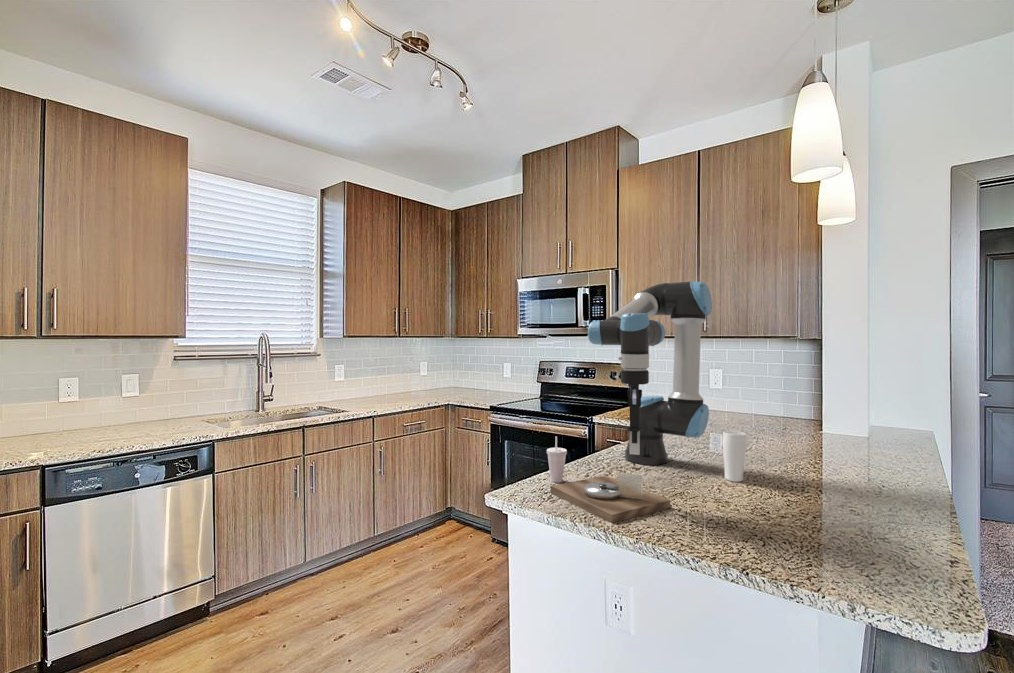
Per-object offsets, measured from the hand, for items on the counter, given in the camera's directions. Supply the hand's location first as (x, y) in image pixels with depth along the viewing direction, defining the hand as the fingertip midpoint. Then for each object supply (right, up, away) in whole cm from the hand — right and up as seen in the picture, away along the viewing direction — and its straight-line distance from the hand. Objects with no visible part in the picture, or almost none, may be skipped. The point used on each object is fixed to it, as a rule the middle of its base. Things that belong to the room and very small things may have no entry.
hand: (634, 453), depth 133 cm
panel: (-7, -13, 0) cm, 15 cm away
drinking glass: (+37, -13, +20) cm, 44 cm away
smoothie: (-20, -13, +17) cm, 29 cm away
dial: (-7, -11, -2) cm, 13 cm away
